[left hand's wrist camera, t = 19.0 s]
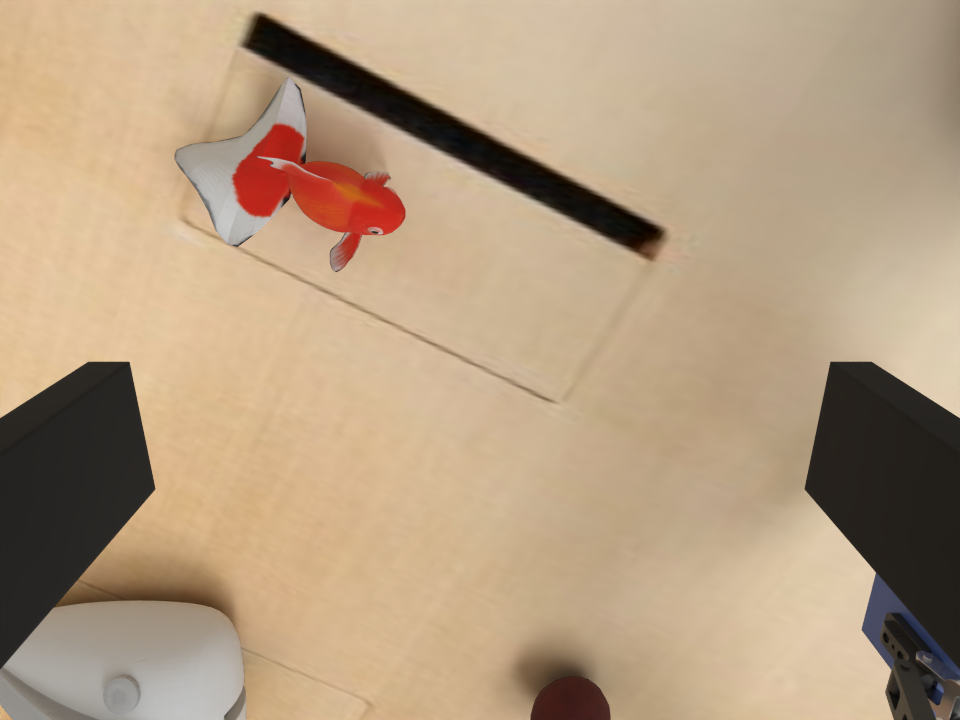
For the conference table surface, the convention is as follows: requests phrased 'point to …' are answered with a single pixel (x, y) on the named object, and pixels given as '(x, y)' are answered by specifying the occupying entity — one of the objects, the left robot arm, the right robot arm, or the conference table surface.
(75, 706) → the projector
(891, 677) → the right robot arm
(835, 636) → the conference table surface
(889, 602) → the brick
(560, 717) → the dark maroon ball
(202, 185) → the fish
